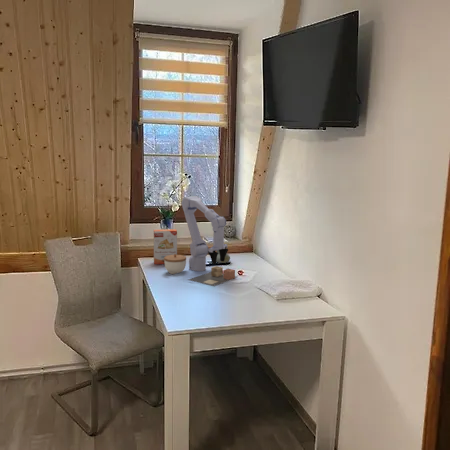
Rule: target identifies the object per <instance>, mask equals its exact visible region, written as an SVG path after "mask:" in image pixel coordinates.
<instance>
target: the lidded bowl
mask: <svg viewBox="0 0 450 450" xmlns="http://www.w3.org/2000/svg"><path fill="white" fill-rule="evenodd" d="M164 262H165V264H164V268H165V270H166V271H167V273H169V274H170V275H176V274H180V273H182V272H183V271H185V269H186V265H187V257H186V255H182V254H177V255H176V254H174V255H168V256H165V257H164Z"/></svg>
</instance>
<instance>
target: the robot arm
mask: <svg viewBox="0 0 450 450" xmlns="http://www.w3.org/2000/svg"><path fill="white" fill-rule="evenodd" d="M180 203H181V206H182V210H183V212H184V213H183V214H184V217H185V221H186V224H187V228H188V231H189V235H190V237H191V243H190V245H189V249H190V255H191V256H190V257H189V259H188V270H192V271H194V272H205V271H206V270H207V269H206V268H207V267H206V266H207V265H206V262H207V259H206V258H207V255H209V257H210V259H211V264H212V265H216V264H217V263H216V260H217V255H218V253H217V250H219V253H220V261H223V262H224V260H225V256H226V254H228V252H229V249H228V244H227V243H224V242H225V239H224V237H225V227H226V226H227V219H226V218H225V216H220V215H219V214H218V213H217V212H216V211H215V210H214V209H212V208H208V207H207V205H206V204H205V203H203V202H202V198H201V197H199V195H195V196H185V197H183V198H182V200H181V202H180ZM197 210H199V211H200V212H202V213H203V214H204V218H206V219H207V220H208V221H209V222H210V223H211V227H212V231H213V237H212V238H213V241H212V242H213V243H212V245H213V246H211V247H210V248H209V246H208V244H207V243H206V240H205V239H202V236H201V233H200V230H199V226H198V224H197V223H198V222H197V219H196V216H195V213H196V211H197Z"/></svg>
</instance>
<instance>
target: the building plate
mask: <svg viewBox="0 0 450 450" xmlns="http://www.w3.org/2000/svg"><path fill="white" fill-rule="evenodd" d="M235 278H236V279H237V278H238V276H237V275H235ZM235 278H233V279H235ZM233 279H231V280H233ZM231 280H229V279H225V278H224V273H223V275H221V276H219V277H216V276H211V271H208V272H206V273H204V274H201V275H198V276H195V277H192V278H190V279H188V281H191V282H194V283H198V284H203V285H206V286H210V287H216V286H218V285H221V284H223V283H227V282H229V281H231Z"/></svg>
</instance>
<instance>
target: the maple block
mask: <svg viewBox="0 0 450 450" xmlns="http://www.w3.org/2000/svg"><path fill="white" fill-rule="evenodd" d="M210 269H211V270H210V272H211V276H216V277H219V276H221V275H223V274H224V270H223V269H224V267H223V266H218V265H215V266H212V267H211V268H210Z"/></svg>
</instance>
